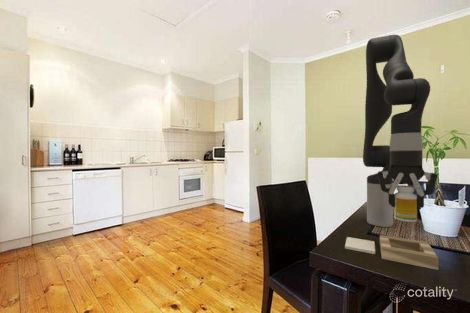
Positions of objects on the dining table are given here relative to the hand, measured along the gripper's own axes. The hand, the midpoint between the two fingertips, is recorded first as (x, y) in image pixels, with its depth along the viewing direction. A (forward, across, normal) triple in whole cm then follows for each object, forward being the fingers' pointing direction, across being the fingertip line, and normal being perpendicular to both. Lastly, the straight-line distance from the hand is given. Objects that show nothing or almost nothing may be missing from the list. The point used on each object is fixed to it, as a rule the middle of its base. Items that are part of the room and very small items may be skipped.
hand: (405, 207), depth 65 cm
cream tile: (+14, +12, 0) cm, 18 cm away
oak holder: (+14, 0, 0) cm, 14 cm away
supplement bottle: (+4, 0, 0) cm, 4 cm away
